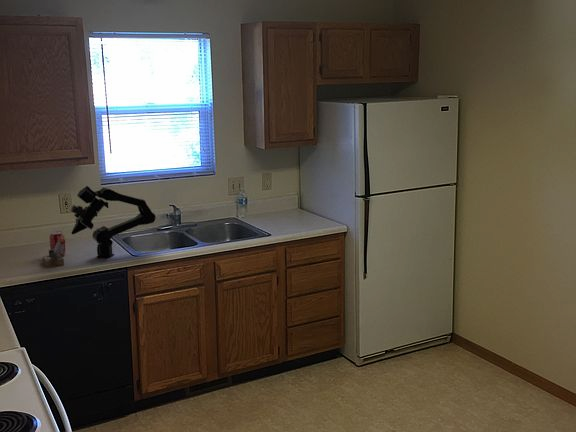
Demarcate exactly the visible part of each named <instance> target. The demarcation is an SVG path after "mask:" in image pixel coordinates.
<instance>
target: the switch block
mask: <svg viewBox="0 0 576 432" xmlns="http://www.w3.org/2000/svg"><path fill="white" fill-rule="evenodd" d="M53 250H54V249H53ZM53 250H51V249H48V255H44V256H43V255H42V260H43V264H44V266H45V267H46V268H51V267H52V268H53V267H59V266H60V267H61V266H65V260H64V258H63V257H64V256H61V255H60V254H58V256H57V253H52V252H53Z"/></svg>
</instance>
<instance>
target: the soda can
mask: <svg viewBox="0 0 576 432" xmlns="http://www.w3.org/2000/svg"><path fill="white" fill-rule="evenodd" d="M59 237H63V239H64V240H65V241H66V239H65V235H64V233H63V231H59V230H58V231H57V230H56V231H51V232H50V235H49V248H50V249H49V250H53V249H54V248H55V246H56V244H57V242H58V238H59ZM66 249H67V248H66V243H65V244H63V246H62V248H61V250H60V252H59V254H60V255H61V256H62V257H64V256H65V255H66Z"/></svg>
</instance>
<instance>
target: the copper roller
mask: <svg viewBox="0 0 576 432" xmlns="http://www.w3.org/2000/svg"><path fill="white" fill-rule="evenodd" d="M63 244H65V245H66V239H65V240H64V239H63V237H59V238H58V242H57V244H56V246H55V248H54V250H53V252H52V253H57V256H58V254H59V252H60V250H61V248H62V246H63Z"/></svg>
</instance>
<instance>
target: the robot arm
mask: <svg viewBox="0 0 576 432" xmlns="http://www.w3.org/2000/svg"><path fill="white" fill-rule="evenodd" d="M76 196H77V197H78V198H79V199H80V200H81V201H83V202H84V203H85V204H89V205H87V206H85V207H83V206H81V205H75V204H73V205H72V206H71V209H70V211H71V212H72V213H74V214H73V216H74V217H75V223H74V226H73V229H72V231H71V234H72V235H75V234H77V233H79V232H81V231H84V230H86V229H88V228H89V230H92V229H93V228H94V223H93V219H94V218H95V217H98V214H99V213H100V211H102V209H103V208H104V207H105V208H107V209H109V202H108V201H110V202H120V203H126V204H129V205H133V206H137V210H138V211H139V213H138V214H137V215H136V216H134V217H133V218H131V219H128V220H125V221H123V222H120V223H119V224H115V225H112V226H111V227H107V226H105V225H102V226H100V227H99V228H98V227H97V228H96V229H95V230H94V231H93V233H92V239H93V240H94V241H95V242H96V243H97V247H96V253H97V256H96V258H98V259H99V258H100V259H109V258H111V257H112V256H115V254H114V253H113V240H112V238H113V237H114V236H116V235H118V234H121V233H124V232H126V231H129V230H131V229H134V228H136V227H138V226H143V225H144V226H145V225H150V224H153V223H154V222H155V220H156V214H155V213H154V212H152V209H151V208H150V207H149V206H148V204H147V202H146V200H145V199H142V198H138V197H134V196H130V195H127V194H122V193H119V192H117V191H114V190H113V189H110V188H108V187H102V188H101V189H100V190H95V191H94V190H92V188H90V187H89V186H88V185H86V186H85V187H83V188H82V189H80V190H79V192H78V193H77V195H76ZM97 197H98V198H99V199H98V198H97Z"/></svg>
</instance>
